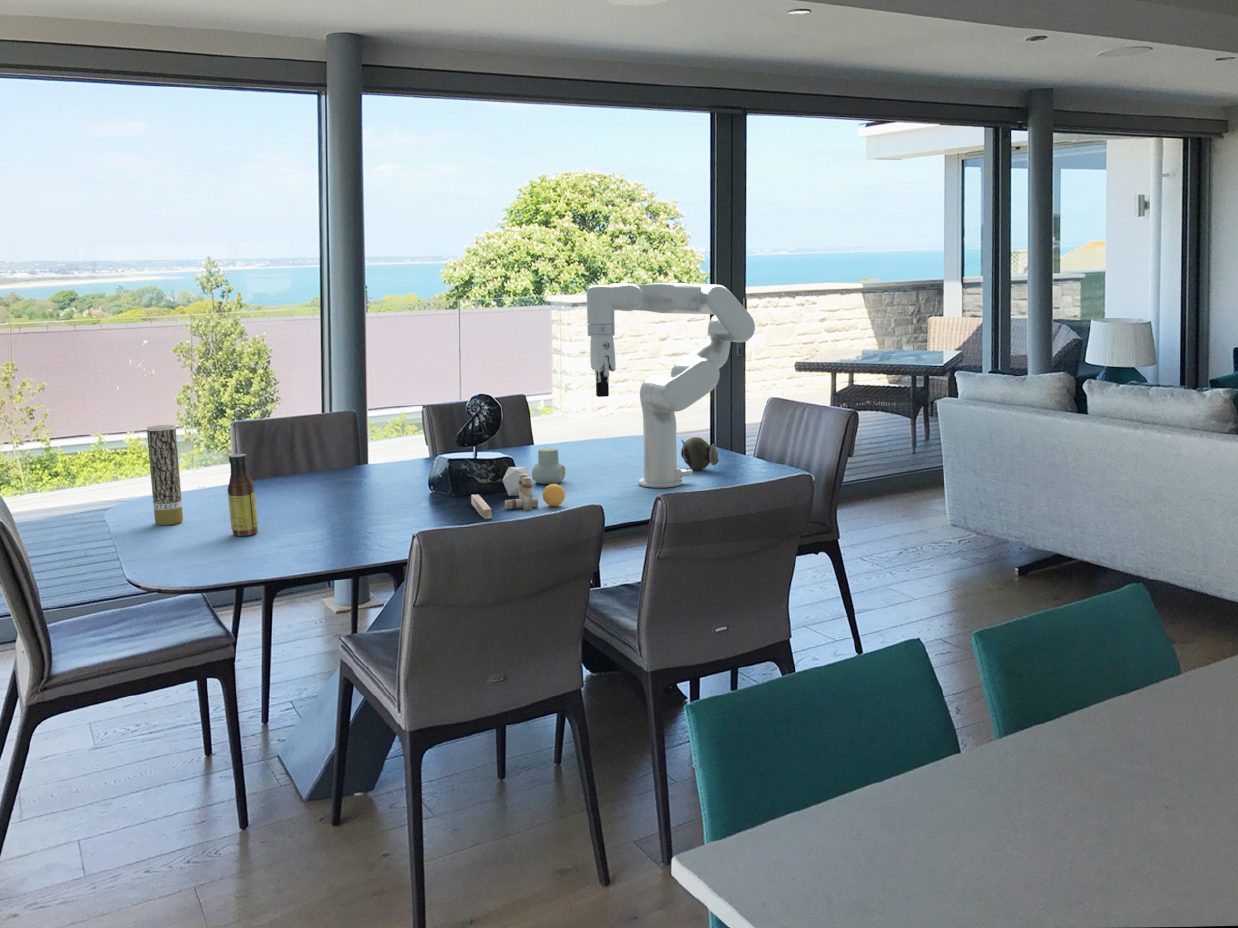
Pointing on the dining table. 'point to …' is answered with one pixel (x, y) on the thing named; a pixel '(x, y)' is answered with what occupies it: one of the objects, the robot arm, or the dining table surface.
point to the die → (514, 479)
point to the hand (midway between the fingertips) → (602, 396)
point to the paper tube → (165, 474)
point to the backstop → (481, 506)
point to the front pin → (519, 503)
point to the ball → (553, 495)
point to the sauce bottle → (241, 498)
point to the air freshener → (548, 467)
